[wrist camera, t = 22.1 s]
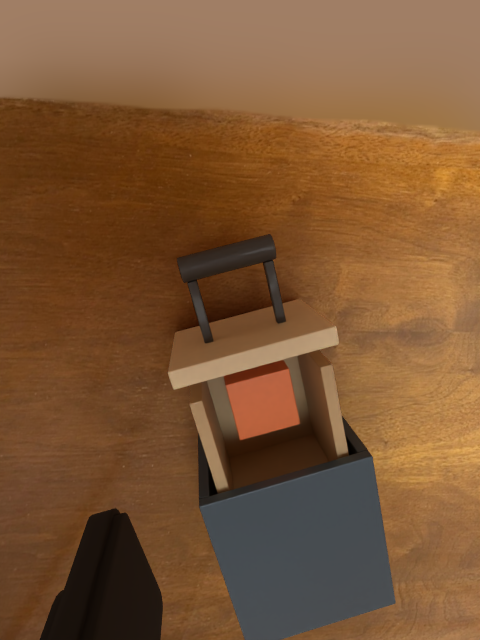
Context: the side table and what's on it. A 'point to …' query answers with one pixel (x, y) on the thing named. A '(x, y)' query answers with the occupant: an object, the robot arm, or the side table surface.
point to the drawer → (252, 351)
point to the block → (262, 399)
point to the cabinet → (300, 544)
